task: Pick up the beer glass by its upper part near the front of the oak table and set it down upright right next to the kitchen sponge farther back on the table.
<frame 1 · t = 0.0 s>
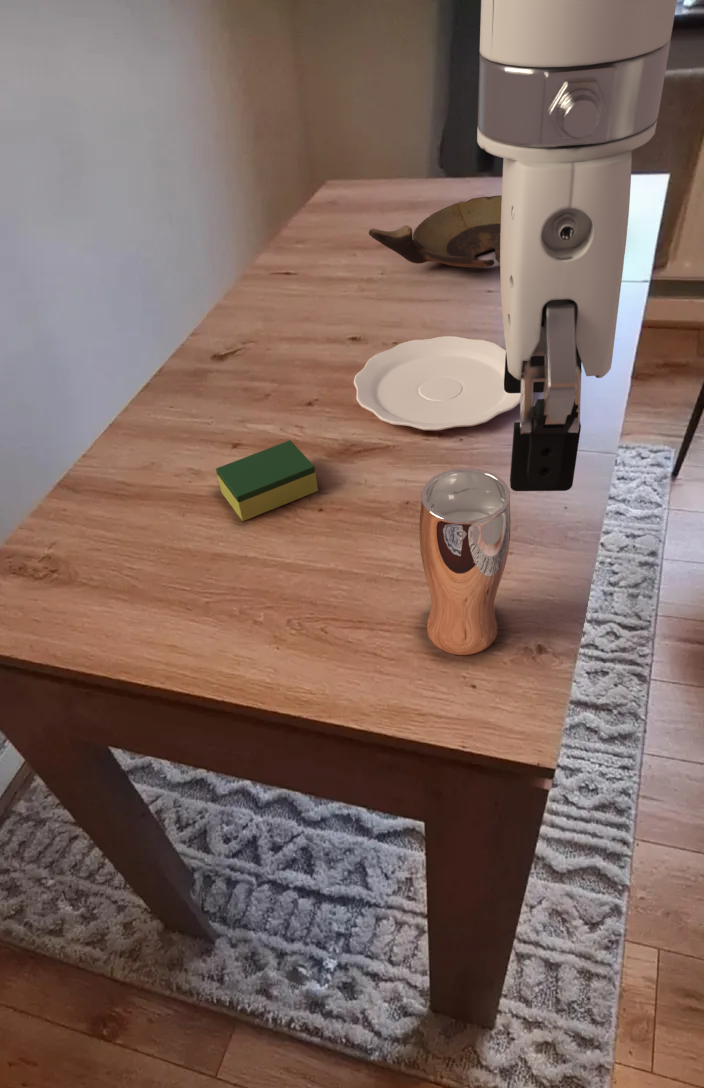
hand: (534, 435, 46), 25 cm above the table, tool pointing down, fingers open, 9 cm apart
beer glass: (462, 630, 70), on the table
plate: (440, 392, 97), on the table
sponge: (269, 491, 87), on the table
broken bowl: (469, 257, 124), on the table
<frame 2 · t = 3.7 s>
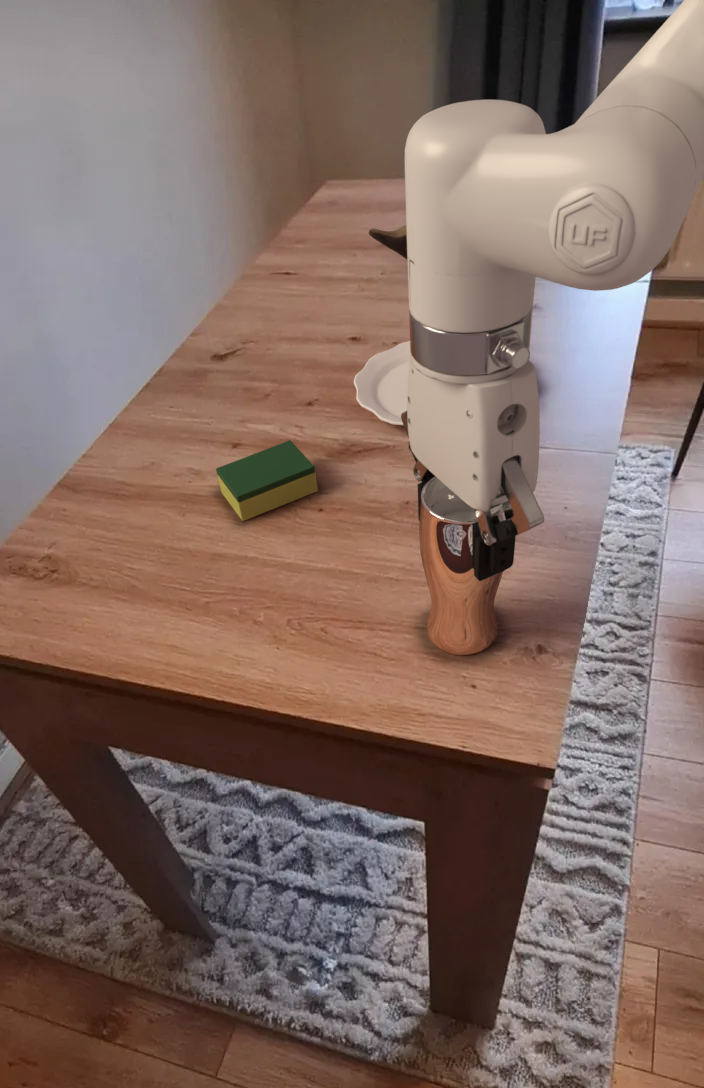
hand: (464, 542, 63), 10 cm above the table, tool pointing down, fingers closed on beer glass, 7 cm apart
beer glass: (461, 630, 70), on the table, touching gripper
everything else where it was.
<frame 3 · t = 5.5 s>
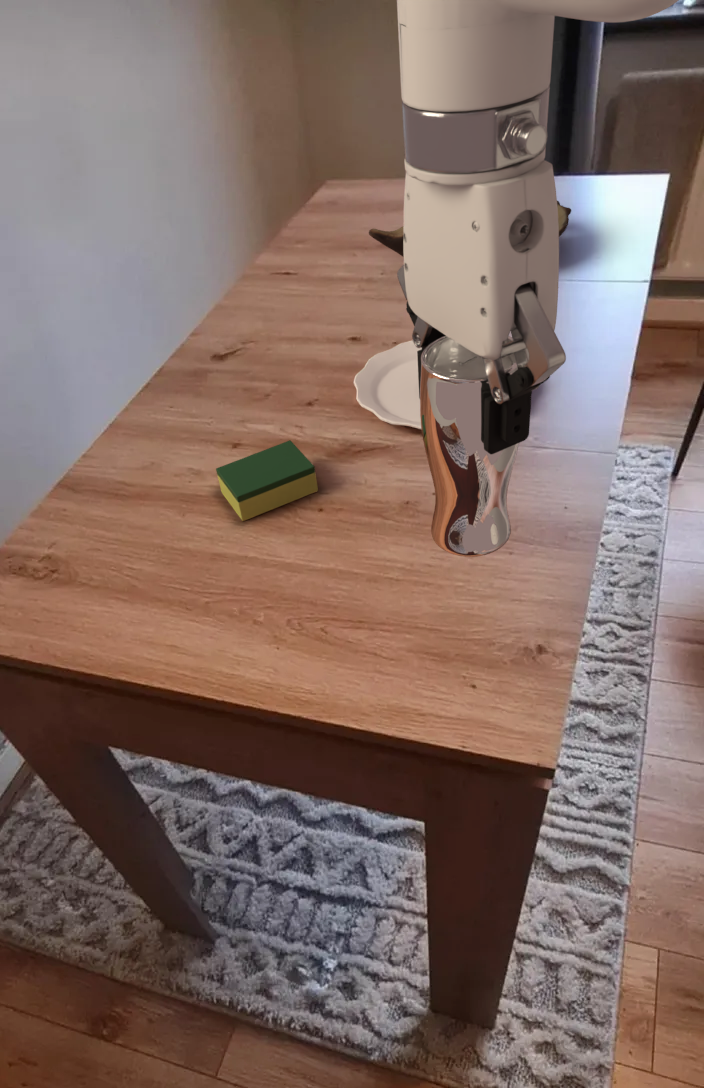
hand: (471, 417, 55), 22 cm above the table, tool pointing down, fingers closed on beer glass, 7 cm apart
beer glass: (470, 533, 62), point 11 cm above the table, touching gripper
everything else where it was.
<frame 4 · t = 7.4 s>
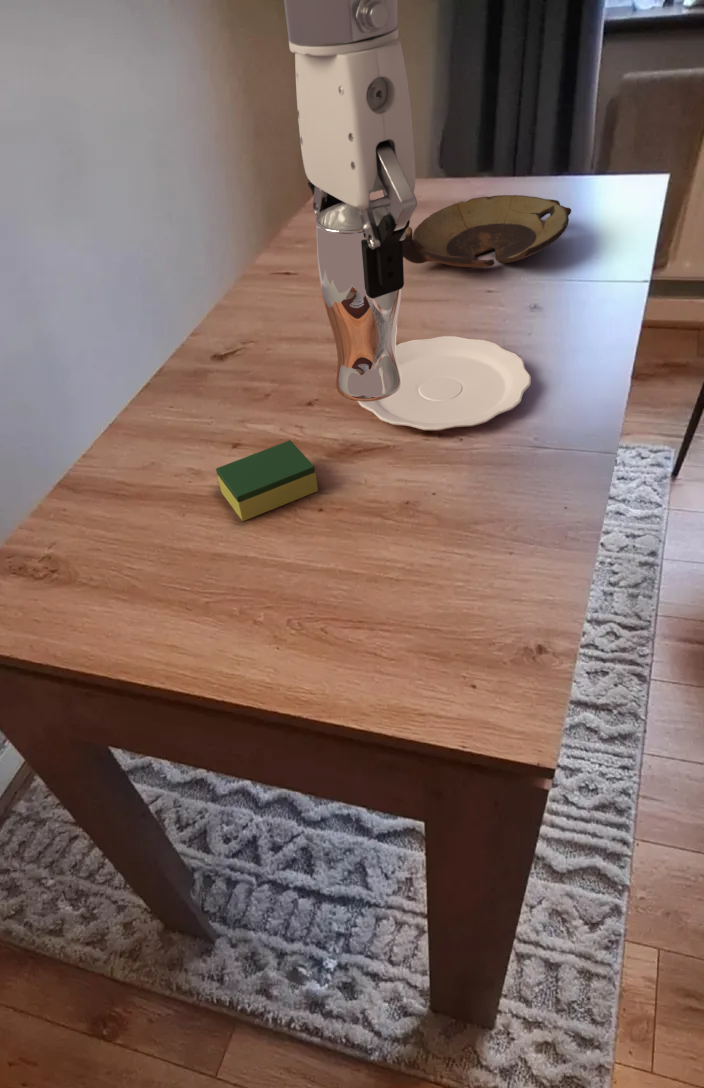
hand: (361, 275, 66), 24 cm above the table, tool pointing down, fingers closed on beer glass, 7 cm apart
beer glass: (369, 386, 73), point 14 cm above the table, touching gripper
everything else where it was.
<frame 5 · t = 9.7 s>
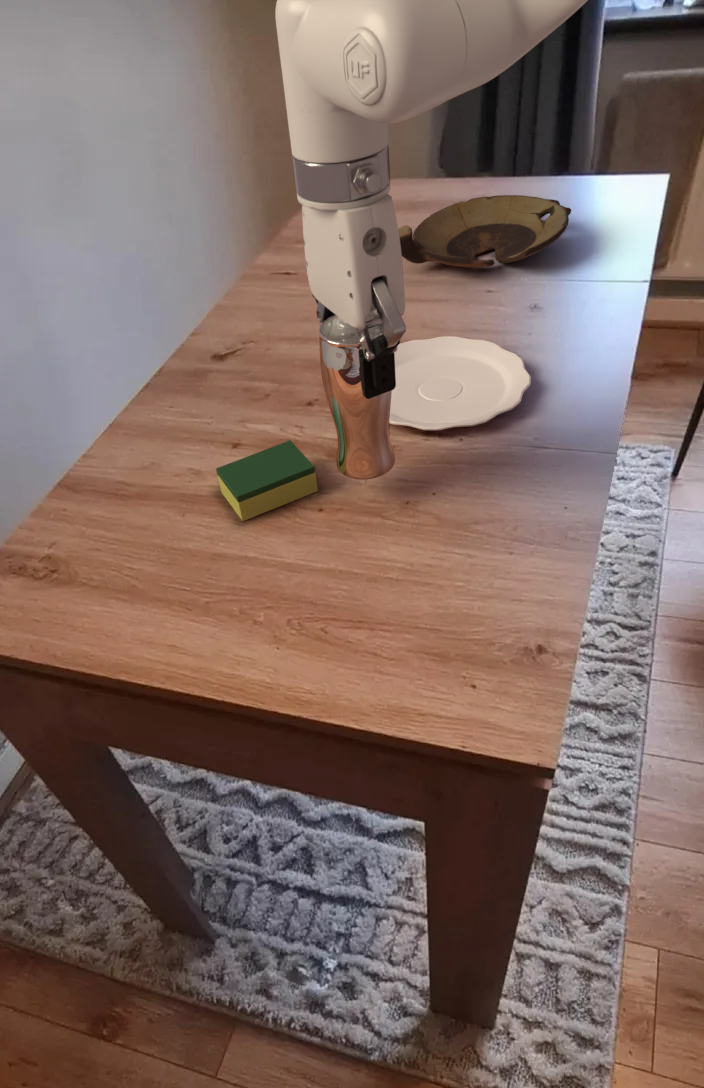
hand: (358, 374, 75), 14 cm above the table, tool pointing down, fingers closed on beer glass, 7 cm apart
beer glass: (366, 464, 83), point 3 cm above the table, touching gripper
everything else where it was.
when the fingers open (10 cm above the table, at t = 11.3 s): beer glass stays where it is, on the table.
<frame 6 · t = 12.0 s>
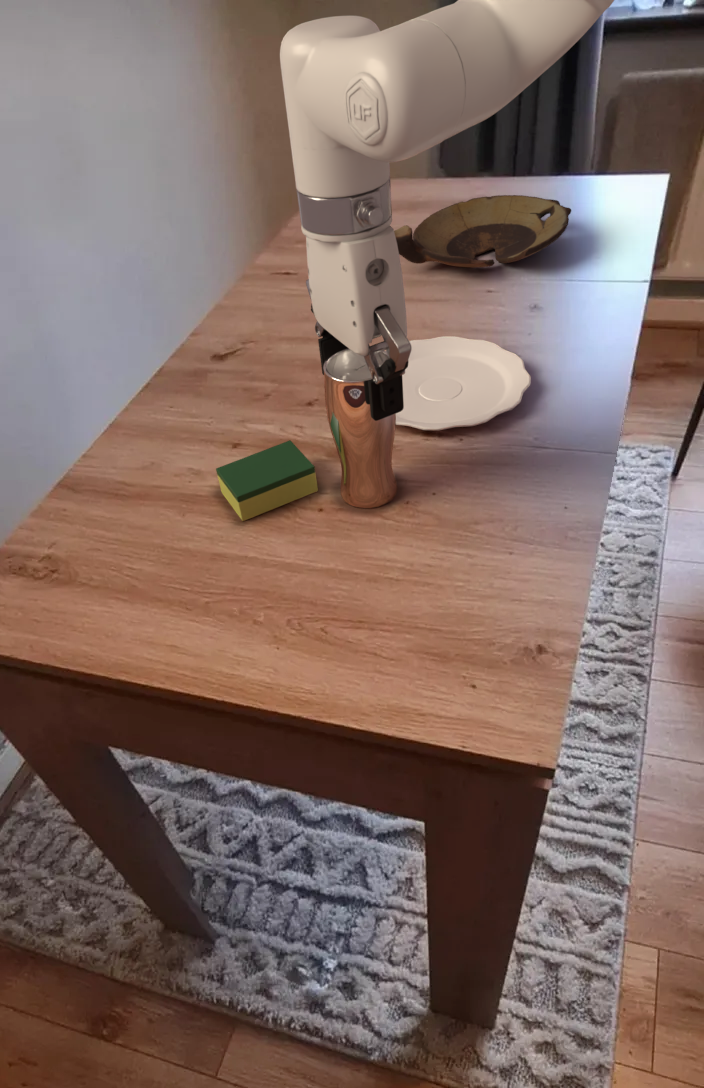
hand: (361, 392, 77), 12 cm above the table, tool pointing down, fingers open, 9 cm apart
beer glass: (368, 492, 85), on the table
everything else where it was.
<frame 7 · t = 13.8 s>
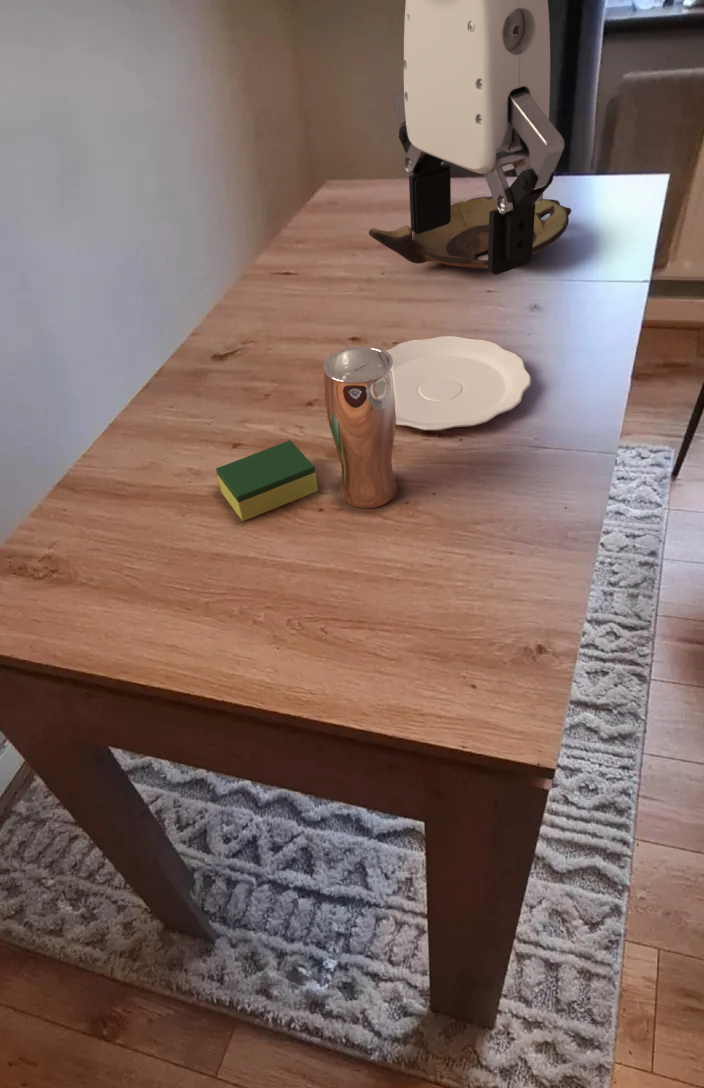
hand: (468, 246, 57), 29 cm above the table, tool pointing down, fingers open, 9 cm apart
nothing on the table moved.
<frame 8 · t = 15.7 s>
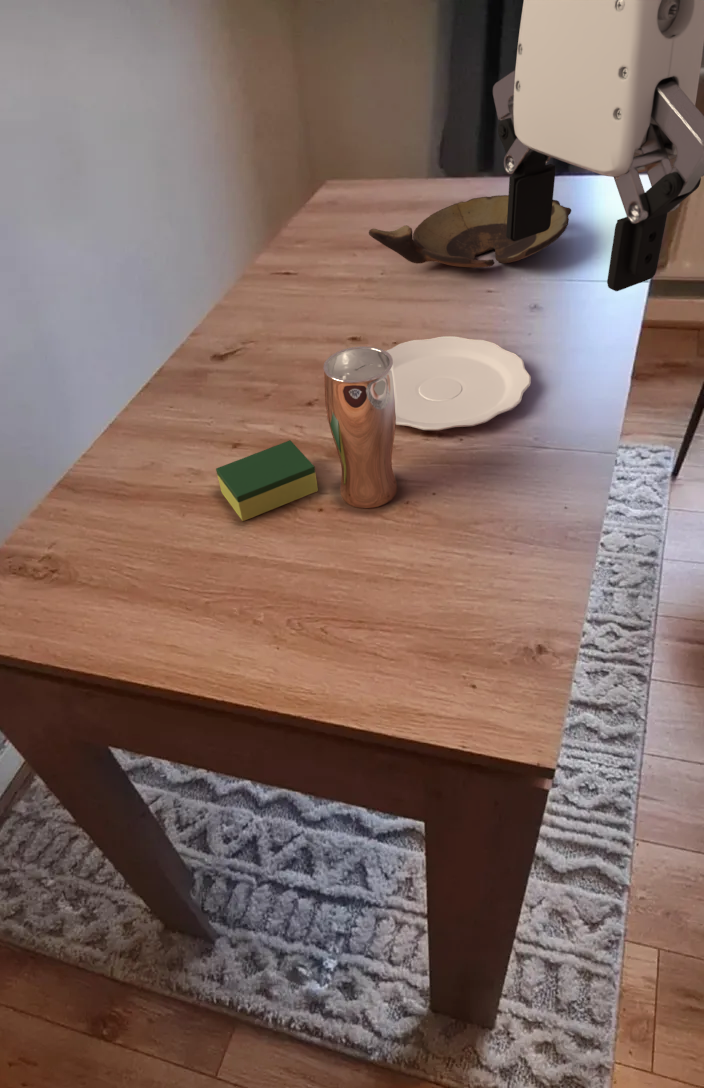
hand: (576, 257, 50), 30 cm above the table, tool pointing down, fingers open, 9 cm apart
nothing on the table moved.
at the end: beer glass 10.9 cm from the sponge (horizontally); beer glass tilted 0°; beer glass on the table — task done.
